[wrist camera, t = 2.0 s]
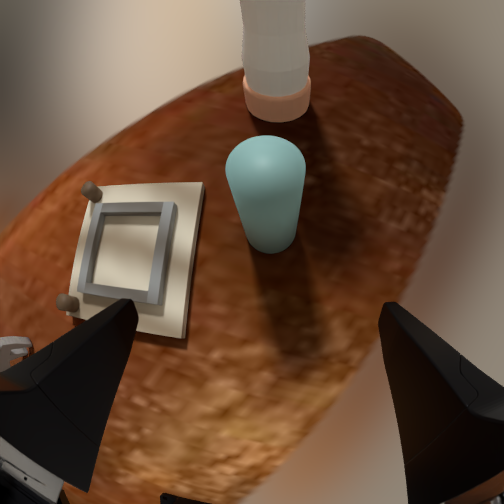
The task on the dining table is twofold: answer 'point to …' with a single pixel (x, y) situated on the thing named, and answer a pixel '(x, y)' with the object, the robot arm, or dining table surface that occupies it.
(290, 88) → the salt shaker
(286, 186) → the pin
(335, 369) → the dining table surface
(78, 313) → the board
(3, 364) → the caliper
